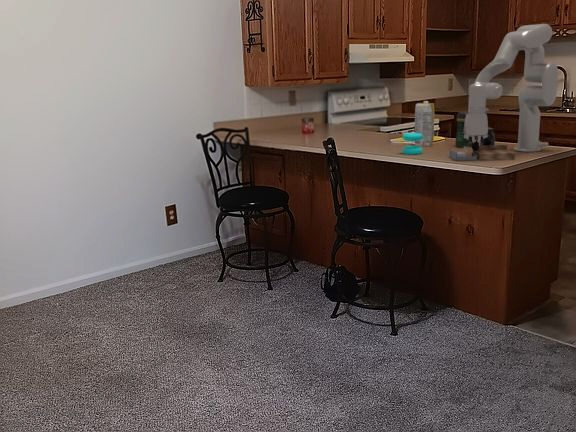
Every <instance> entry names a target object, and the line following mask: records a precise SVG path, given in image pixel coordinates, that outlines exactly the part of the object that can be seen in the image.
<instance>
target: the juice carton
mask: <svg viewBox="0 0 576 432" xmlns="http://www.w3.org/2000/svg"><path fill="white" fill-rule="evenodd" d="M414 110H415V112H414V133H420V134H422V135H423V138H422V139H421V140H420V141H414V146H419V147H430V146H433V144H434V138H435V137H434V136H435V103H431V102H430V103H429V101H428V100H423V102H418V103H416V104H415V109H414Z"/></svg>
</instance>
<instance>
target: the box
mask: <svg viewBox="0 0 576 432" xmlns="http://www.w3.org/2000/svg"><path fill="white" fill-rule="evenodd" d="M457 152H458V151H456V150H453V149H452V148H449V158H450V159H452V160H453V161H455V162H472V161H473V162H474V161H475V162H477V161H478V159H477V155H476V154H474V153H472V156H465V157H457Z"/></svg>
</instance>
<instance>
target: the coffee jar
mask: <svg viewBox="0 0 576 432" xmlns="http://www.w3.org/2000/svg"><path fill="white" fill-rule="evenodd" d="M466 114H468V110H467V111H460V112H458V113H457V115H456V122H457V124H456V125H457V127H456V128H457V129H456V136H455V147H457V148H464V146H470V147H471V148H472V142H471V141H470V140H469V139H466V138H464V124H465V118H466Z"/></svg>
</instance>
